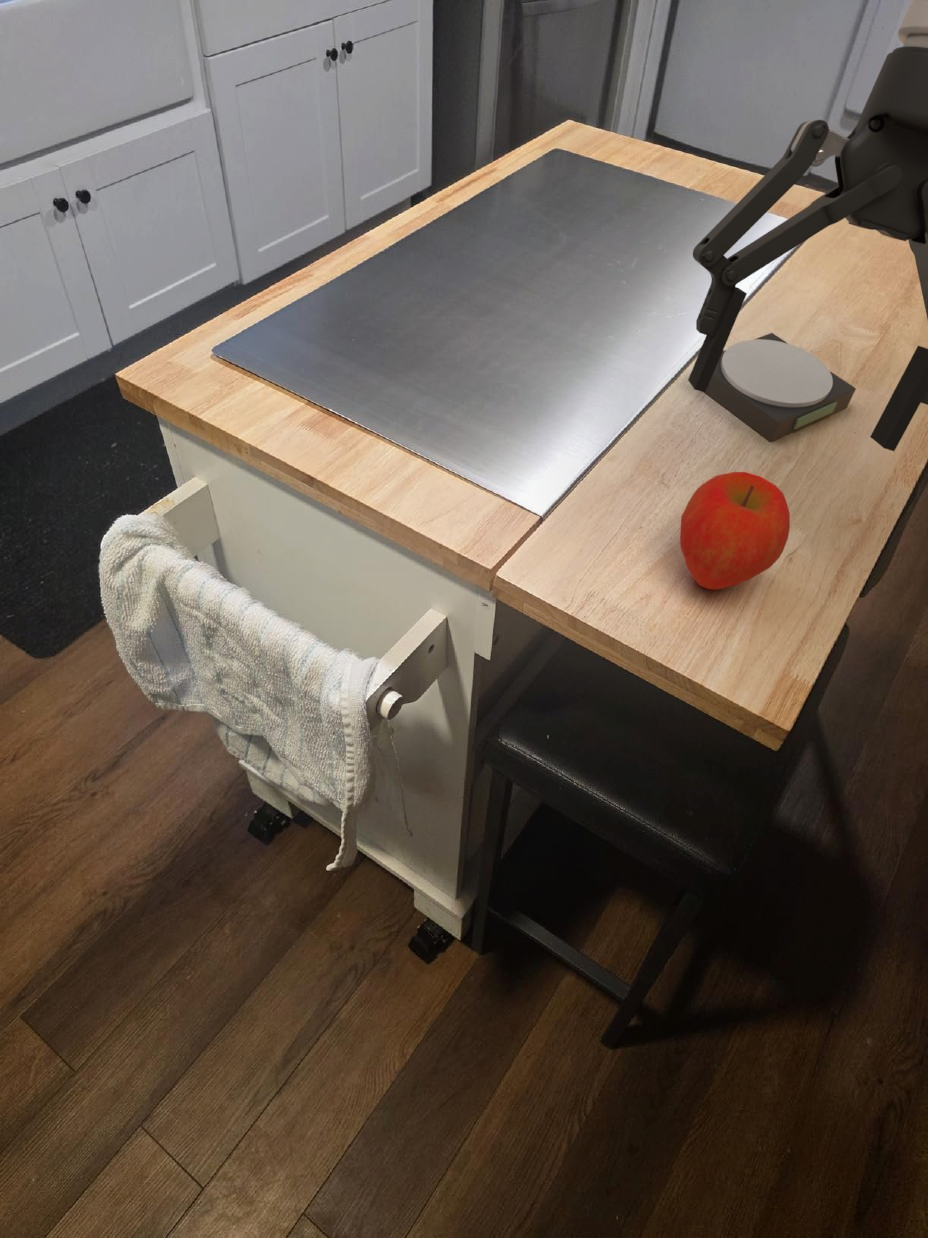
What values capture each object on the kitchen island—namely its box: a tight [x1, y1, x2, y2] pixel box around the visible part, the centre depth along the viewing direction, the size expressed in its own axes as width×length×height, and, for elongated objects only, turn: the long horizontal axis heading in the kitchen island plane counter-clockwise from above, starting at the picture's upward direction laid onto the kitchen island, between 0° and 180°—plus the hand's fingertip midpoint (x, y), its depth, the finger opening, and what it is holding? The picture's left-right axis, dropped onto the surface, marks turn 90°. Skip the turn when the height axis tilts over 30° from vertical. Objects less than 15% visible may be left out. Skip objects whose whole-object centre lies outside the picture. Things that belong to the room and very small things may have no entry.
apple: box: [679, 471, 791, 591], centre depth 71 cm, size 9×8×11 cm
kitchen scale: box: [703, 332, 857, 443], centre depth 93 cm, size 12×12×3 cm
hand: (789, 415), depth 60 cm, fingers open, 13 cm apart
